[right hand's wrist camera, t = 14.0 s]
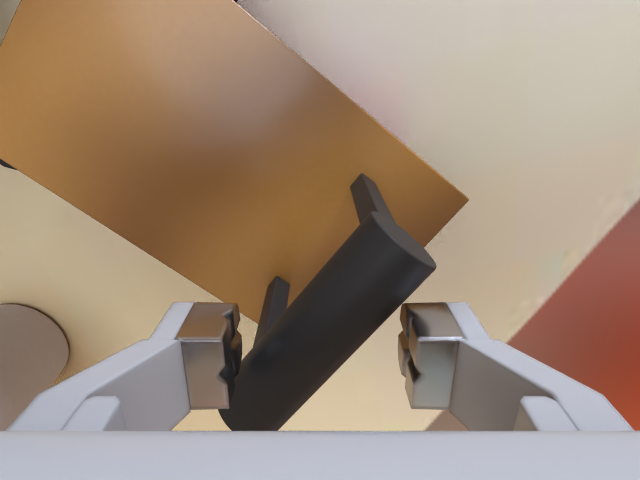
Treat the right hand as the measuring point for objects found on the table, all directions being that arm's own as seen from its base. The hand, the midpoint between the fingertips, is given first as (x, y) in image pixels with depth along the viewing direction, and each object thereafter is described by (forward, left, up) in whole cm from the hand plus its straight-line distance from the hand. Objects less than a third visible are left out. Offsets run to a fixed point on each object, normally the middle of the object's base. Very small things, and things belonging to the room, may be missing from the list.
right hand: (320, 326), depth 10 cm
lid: (+3, -3, -7) cm, 9 cm away
